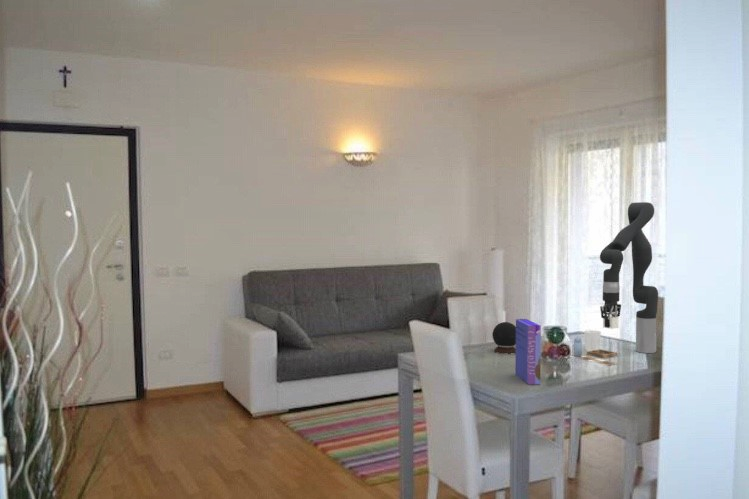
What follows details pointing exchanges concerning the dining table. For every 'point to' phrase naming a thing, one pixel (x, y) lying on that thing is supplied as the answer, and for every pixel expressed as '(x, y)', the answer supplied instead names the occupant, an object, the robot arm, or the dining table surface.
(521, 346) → the cereal box
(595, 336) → the white cup
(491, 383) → the dining table surface
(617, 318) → the die
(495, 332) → the black orb on stand
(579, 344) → the pale blue capsule
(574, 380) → the dining table surface
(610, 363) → the board
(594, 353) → the tray
